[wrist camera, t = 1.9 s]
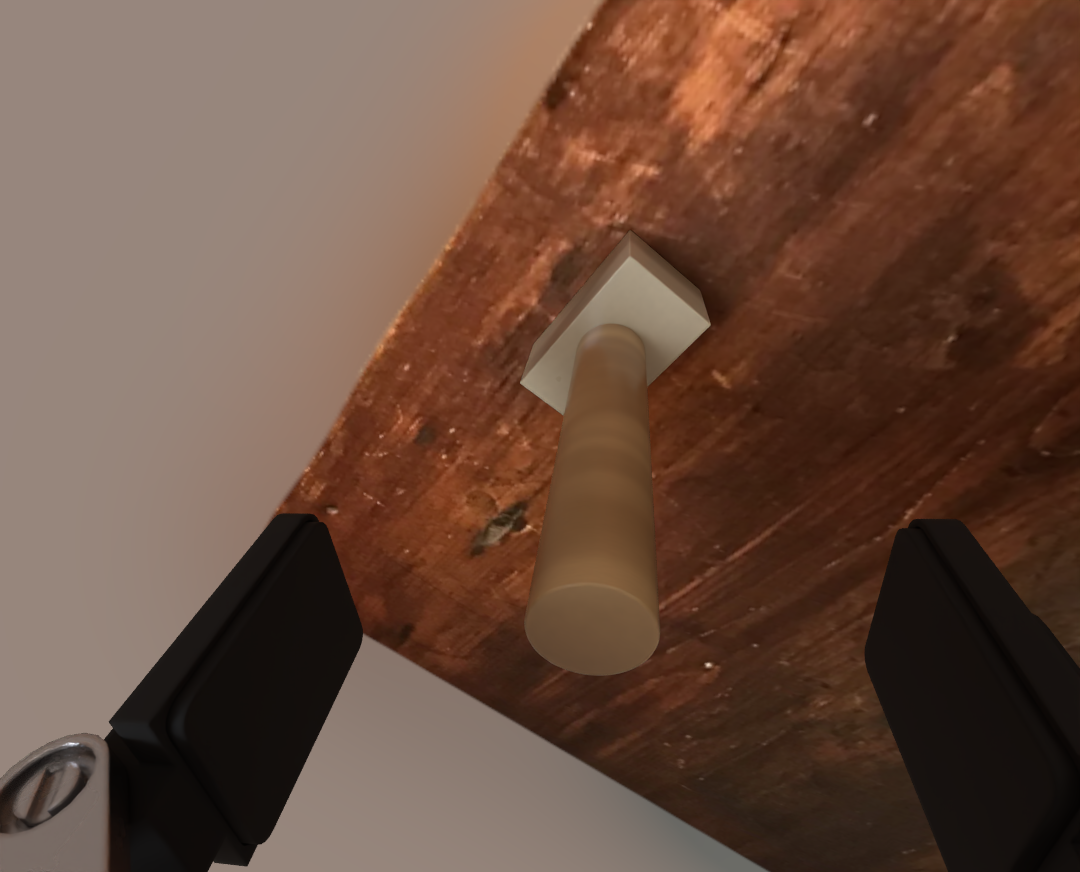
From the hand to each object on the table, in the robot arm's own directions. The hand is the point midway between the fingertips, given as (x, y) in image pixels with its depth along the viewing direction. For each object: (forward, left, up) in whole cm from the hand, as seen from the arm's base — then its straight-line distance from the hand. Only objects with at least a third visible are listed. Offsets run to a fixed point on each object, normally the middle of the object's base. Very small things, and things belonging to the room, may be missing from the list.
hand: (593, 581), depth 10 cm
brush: (0, 0, -12) cm, 12 cm away
